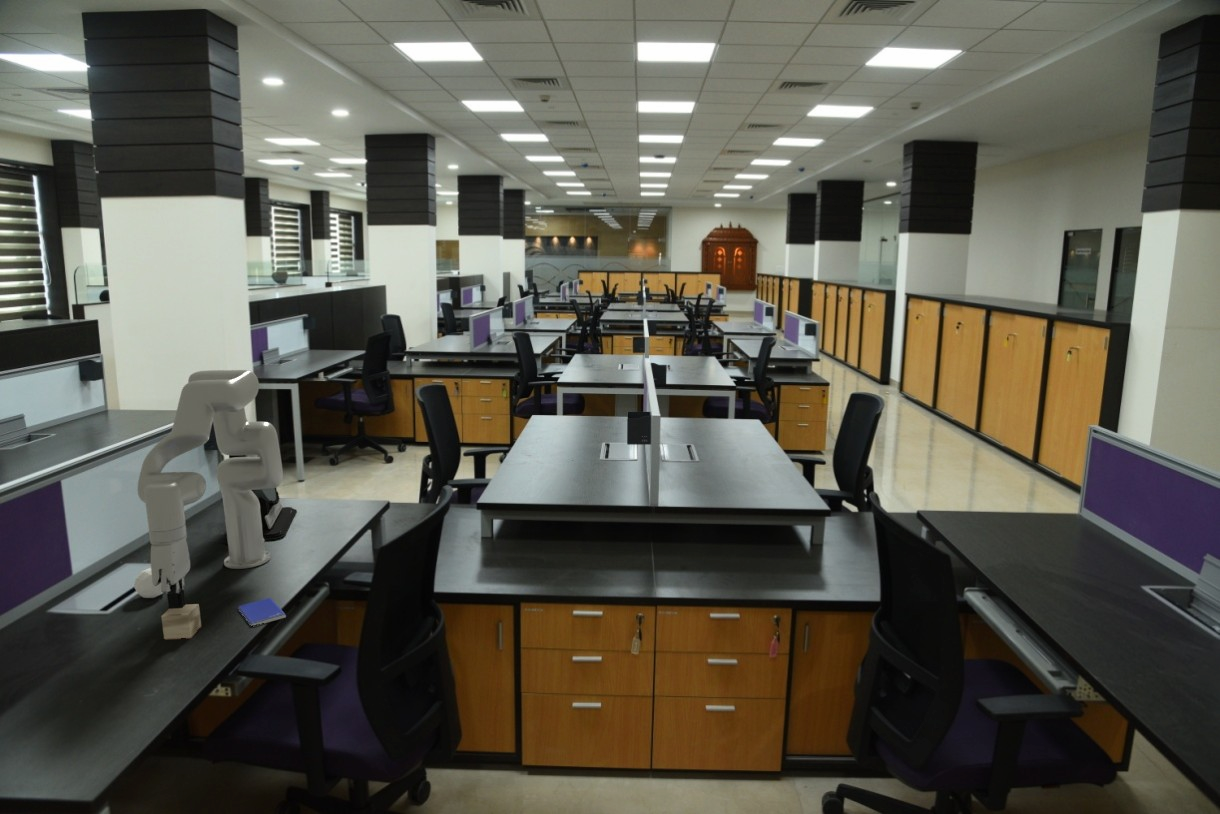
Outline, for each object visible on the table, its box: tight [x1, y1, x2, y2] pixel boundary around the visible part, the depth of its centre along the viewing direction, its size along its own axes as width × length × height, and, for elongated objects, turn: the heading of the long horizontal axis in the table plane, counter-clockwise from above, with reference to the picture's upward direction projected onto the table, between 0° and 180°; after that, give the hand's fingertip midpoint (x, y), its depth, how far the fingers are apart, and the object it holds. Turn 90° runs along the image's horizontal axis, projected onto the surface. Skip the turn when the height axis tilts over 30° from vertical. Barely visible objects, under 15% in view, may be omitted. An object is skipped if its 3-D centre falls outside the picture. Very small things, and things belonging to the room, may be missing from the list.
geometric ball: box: [133, 567, 164, 599], centre depth 208 cm, size 8×8×8 cm
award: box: [221, 455, 298, 545], centre depth 259 cm, size 30×19×30 cm, turn 13°
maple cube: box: [160, 603, 202, 640], centre depth 188 cm, size 6×6×6 cm
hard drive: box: [237, 597, 287, 627], centre depth 198 cm, size 2×8×12 cm
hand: (177, 606), depth 186 cm, fingers closed
